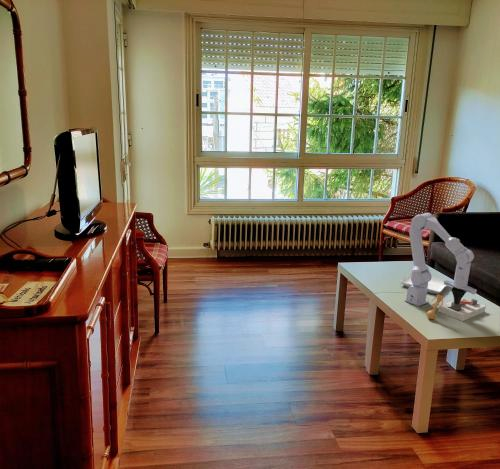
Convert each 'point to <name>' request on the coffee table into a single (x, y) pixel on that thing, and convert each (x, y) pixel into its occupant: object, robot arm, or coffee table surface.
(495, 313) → the coffee table surface
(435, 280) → the salad plate
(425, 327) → the coffee table surface
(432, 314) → the figurine
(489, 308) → the coffee table surface
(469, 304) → the plate
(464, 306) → the panel
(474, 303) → the slider
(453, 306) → the button
